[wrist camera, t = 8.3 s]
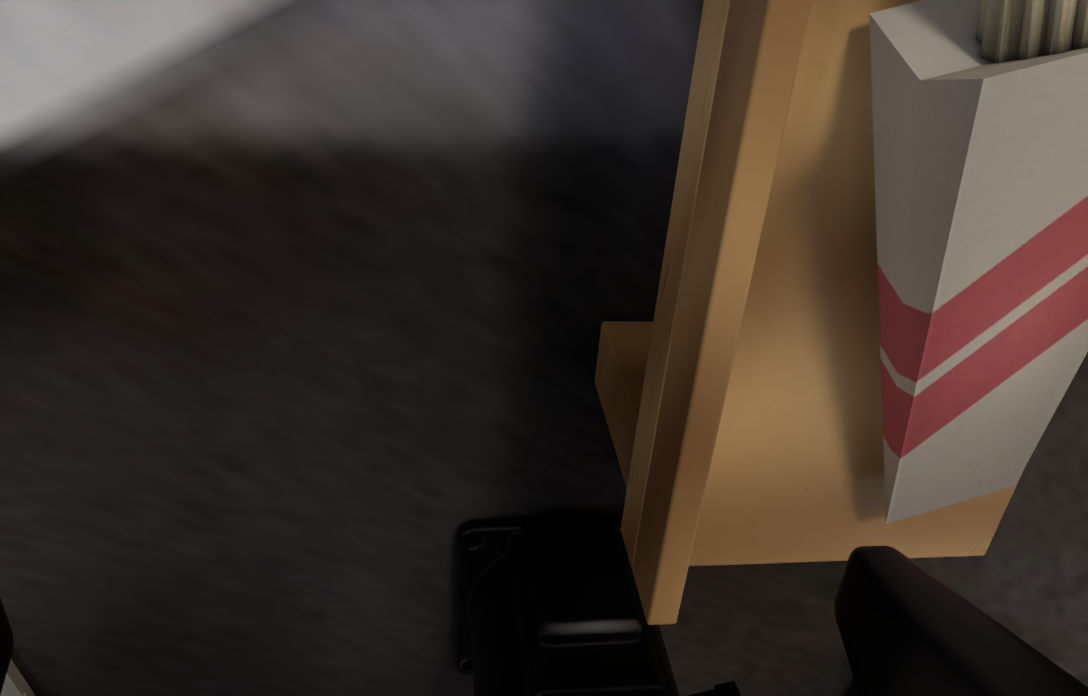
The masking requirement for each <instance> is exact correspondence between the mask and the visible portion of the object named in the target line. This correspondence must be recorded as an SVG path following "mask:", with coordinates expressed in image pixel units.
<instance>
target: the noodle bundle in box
mask: <svg viewBox="0 0 1088 696" xmlns="http://www.w3.org/2000/svg"><path fill="white" fill-rule="evenodd" d="M869 19H870V50H871V81H872V112H873V143H874V174H875V205H876V236H877V267H878V298H879V329H880V361H881V392H882V423H883V454H884V485H885V516H886V524H887V523H891V522H894V521H897V520H901V519H904V518H908V517H911V516H914V515H918V514H921V513H924V512H928V511H931V510H935V509H938V508H941V507H945V506H948V505H952V504H955V503H958V502H962V501H965V500H968V499H972V498H975V497H979V496H982V495H985V494H989V493H992V492H996V491H999V490H1002V489H1006V488H1009V487H1012V486H1015V484H1016V482H1017V480H1018V479H1019V477H1020V475H1021V473H1022V471H1023V469H1024V468H1025V466H1026V464H1027V462H1028V460H1029V458H1030V457H1031V455H1032V453H1033V451H1034V449H1035V447H1036V446H1037V444H1038V442H1039V440H1040V438H1041V436H1042V435H1043V433H1044V431H1045V429H1046V427H1047V425H1048V423H1049V422H1050V420H1051V418H1052V416H1053V414H1054V412H1055V411H1056V409H1057V407H1058V405H1059V403H1060V401H1061V400H1062V398H1063V396H1064V394H1065V392H1066V390H1067V389H1068V387H1069V385H1070V383H1071V381H1072V379H1073V377H1074V376H1075V374H1076V372H1077V370H1078V368H1079V366H1080V365H1081V363H1082V361H1083V359H1084V357H1085V355H1086V354H1087V352H1088V0H922V1H918V2H913V3H909V4H905V5H901V6H897V7H893V8H889V9H885V10H881V11H877V12H873V13H869Z"/></svg>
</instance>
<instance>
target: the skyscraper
mask: <svg viewBox="0 0 1088 696" xmlns="http://www.w3.org/2000/svg"><path fill="white" fill-rule="evenodd" d="M0 696H36V695H35V694H34V693H33V691H32V690H31V688H30V687H29V685H28V684H27V682H26V681H25V679H24V678H23V676H22V675H21V673H20V672H19V670H18V669H17V667H16V666H15V664H14V663H13V661H12V660H11V661H10V664H9V668H8V671H7V674H6V678H5V681H4V685H3V688H2V691H1V695H0Z"/></svg>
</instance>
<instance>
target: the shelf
mask: <svg viewBox="0 0 1088 696" xmlns="http://www.w3.org/2000/svg"><path fill="white" fill-rule="evenodd" d="M918 1H922V0H704V4H703V10H702V16H701V23H700V29H699V35H698V42H697V48H696V54H695V61H694V67H693V73H692V80H691V86H690V92H689V99H688V105H687V111H686V118H685V124H684V131H683V137H682V143H681V150H680V156H679V162H678V169H677V175H676V181H675V188H674V194H673V200H672V207H671V213H670V219H669V226H668V232H667V238H666V245H665V251H664V257H663V264H662V270H661V276H660V283H659V289H658V295H657V302H656V308H655V314H654V321H653V322H640V321H604V322H603V323H602V325H601V333H600V341H599V349H598V357H597V365H596V374H595V385H596V388H597V392H598V395H599V398H600V402H601V405H602V408H603V411H604V415H605V418H606V421H607V425H608V428H609V431H610V434H611V438H612V441H613V444H614V448H615V451H616V454H617V457H618V461H619V464H620V467H621V470H622V474H623V477H624V480H625V484H626V487H627V492H626V498H625V505H624V511H623V517H622V524H621V532H622V536H623V539H624V543H625V547H626V550H627V554H628V557H629V561H630V565H631V567H632V571H633V574H634V578H635V582H636V585H637V589H638V592H639V596H640V600H641V603H642V607H643V610H644V614H645V618H646V621H647V624H648V625H663V624H675V623H676V622H677V617H678V613H679V608H680V603H681V599H682V594H683V590H684V585H685V580H686V576H687V571H688V567H689V566H711V565H739V564H766V563H793V562H821V561H848V558H849V556H850V554H851V552H852V551H853V550H854V549H855V548H857V547H860V546H890V547H893V548H895V549H896V550H898V551H899V552H901V553H902V554H904V555H905V556H906V557H908V558H930V557H958V556H983V555H985V553H986V551H987V549H988V546H989V544H990V542H991V540H992V538H993V535H994V533H995V531H996V529H997V527H998V525H999V522H1000V520H1001V518H1002V516H1003V514H1004V511H1005V509H1006V507H1007V505H1008V503H1009V501H1010V498H1011V496H1012V494H1013V492H1014V490H1015V487H1016V485H1017V483H1018V481H1019V479H1020V477H1019V479H1018V480H1017V482H1016V484H1015V486H1012V487H1009V488H1006V489H1002V490H999V491H996V492H992V493H989V494H985V495H982V496H979V497H975V498H972V499H968V500H965V501H962V502H958V503H955V504H952V505H948V506H945V507H941V508H938V509H935V510H931V511H928V512H924V513H921V514H918V515H914V516H911V517H908V518H904V519H901V520H897V521H894V522H891V523H887V524H886V516H885V485H884V454H883V423H882V392H881V361H880V329H879V298H878V267H877V236H876V205H875V174H874V143H873V112H872V81H871V50H870V19H869V13H873V12H877V11H881V10H885V9H889V8H893V7H897V6H901V5H905V4H909V3H913V2H918ZM1023 470H1024V469H1023ZM1022 472H1023V471H1022ZM1021 474H1022V473H1021ZM1020 476H1021V475H1020Z"/></svg>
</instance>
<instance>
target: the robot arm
mask: <svg viewBox="0 0 1088 696" xmlns="http://www.w3.org/2000/svg"><path fill="white" fill-rule="evenodd" d="M622 517H623V516H599V517H563V518H527V519H491V520H472V521H467V522H466V523H464V524H462V525H461V526H460V528H459V530H458V534H457V570H456V606H455V642H454V666H455V669H456V671H458V672H459V673H461V674H463V675H473V684H474V696H679V693H678V690H677V686H676V683H675V679H674V676H673V672H672V669H671V666H670V662H669V659H668V655H667V652H666V649H665V645H664V642H663V638H662V635H661V631H660V628H659V625H648V624H647V621H646V618H645V614H644V610H643V607H642V603H641V600H640V596H639V592H638V589H637V585H636V582H635V578H634V574H633V571H632V567H631V565H630V561H629V557H628V554H627V550H626V547H625V543H624V539H623V536H622V532H621V524H622ZM475 535H476V536H480V537H479V538H475V539H472V538H469V537H471V536H475ZM834 610H835V617H836V621H837V624H838V627H839V631H840V634H841V637H842V640H843V644H844V647H845V650H846V654H847V657H848V660H849V663H850V667H851V670H852V673H853V677H854V680H855V683H856V686H857V690H858V693H859V696H1088V687H1087V686H1085V685H1084V684H1083V683H1081V682H1080V681H1078V680H1077V679H1076V678H1074V677H1073V676H1071V675H1070V674H1069V673H1067V672H1066V671H1065V670H1063V669H1062V668H1060V667H1059V666H1058V665H1056V664H1055V663H1053V662H1052V661H1051V660H1049V659H1048V658H1046V657H1045V656H1044V655H1042V654H1041V653H1040V652H1038V651H1037V650H1035V649H1034V648H1033V647H1031V646H1030V645H1028V644H1027V643H1026V642H1024V641H1023V640H1022V639H1020V638H1019V637H1017V636H1016V635H1015V634H1013V633H1012V632H1010V631H1009V630H1008V629H1006V628H1005V627H1003V626H1002V625H1001V624H999V623H998V622H997V621H995V620H994V619H992V618H991V617H990V616H988V615H987V614H985V613H984V612H983V611H981V610H980V609H979V608H977V607H976V606H974V605H973V604H972V603H970V602H969V601H967V600H966V599H965V598H963V597H962V596H960V595H959V594H958V593H956V592H955V591H954V590H952V589H951V588H949V587H948V586H947V585H945V584H944V583H942V582H941V581H940V580H938V579H937V578H936V577H934V576H933V575H931V574H930V573H929V572H927V571H926V570H924V569H923V568H922V567H920V566H919V565H917V564H916V563H915V562H913V561H912V560H911V559H909V558H908V557H906V556H905V555H904V554H902V553H901V552H899V551H898V550H896V549H895V548H893V547H890V546H860V547H857V548H855V549H854V550H853V551H852V552H851V554H850V556H849V558H848V561H847V564H846V567H845V570H844V573H843V575H842V578H841V581H840V584H839V587H838V590H837V593H836V596H835V603H834ZM12 652H13V634H12V629H11V627H10V624H9V621H8V618H7V615H6V613H5V610H4V607H3V604H2V602H1V599H0V695H1V691H2V688H3V685H4V681H5V678H6V674H7V671H8V668H9V664H10V661H11V657H12ZM687 696H741V695H740V692H739V690H738V688H737V686H736V683H735V681H731V682H726V683H722V684H718V685H714V689H713V690H708V691H704V692H700V693H696V694H692V695H687Z"/></svg>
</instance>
